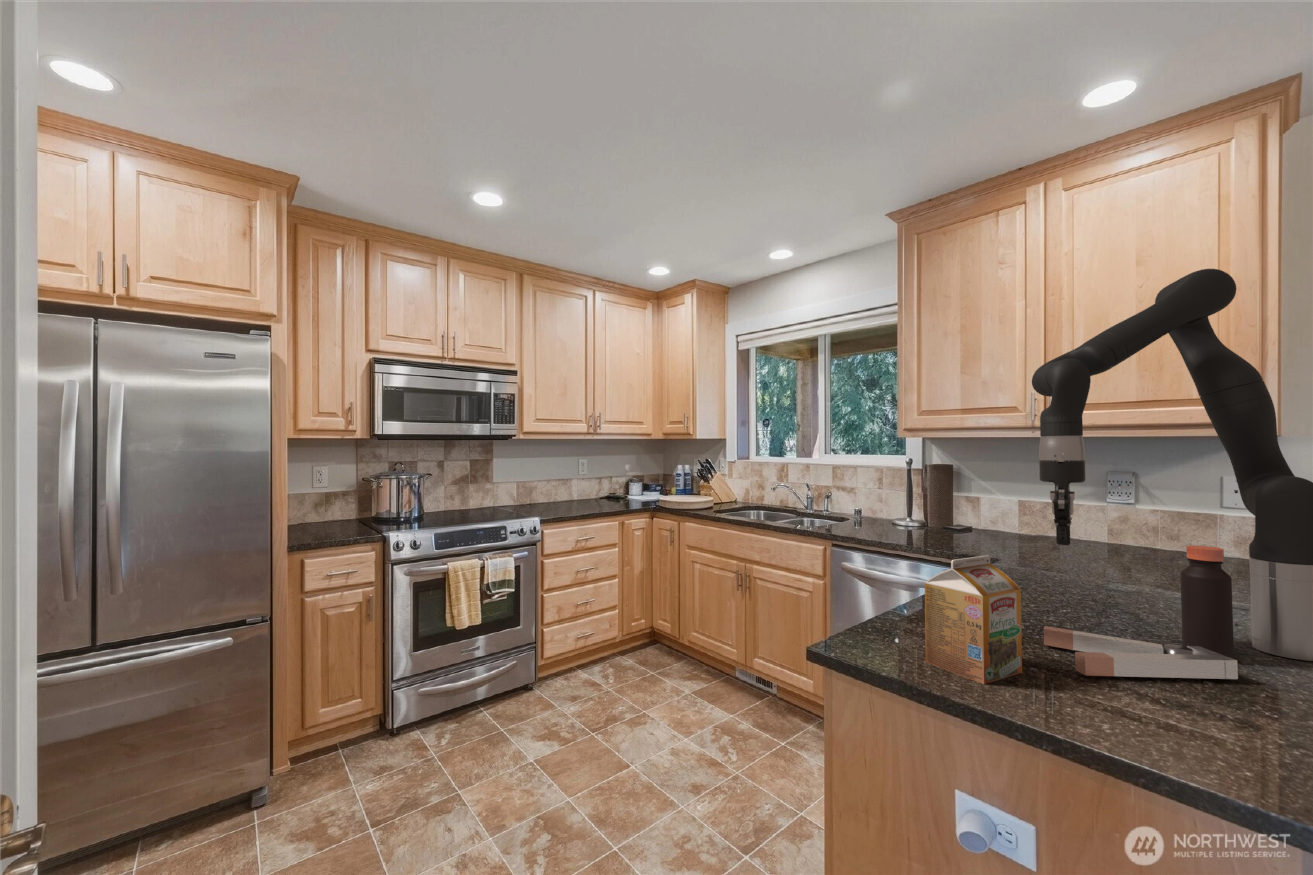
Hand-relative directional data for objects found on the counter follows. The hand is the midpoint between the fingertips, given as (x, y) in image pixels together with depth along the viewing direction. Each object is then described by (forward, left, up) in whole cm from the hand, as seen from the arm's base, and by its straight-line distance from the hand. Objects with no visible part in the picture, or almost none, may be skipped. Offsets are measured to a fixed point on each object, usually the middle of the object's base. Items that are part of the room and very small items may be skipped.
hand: (1063, 544), depth 112 cm
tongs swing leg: (-2, +10, -19) cm, 21 cm away
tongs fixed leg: (-2, +17, -18) cm, 25 cm away
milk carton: (+26, +16, -19) cm, 36 cm away
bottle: (-20, +8, -19) cm, 29 cm away
